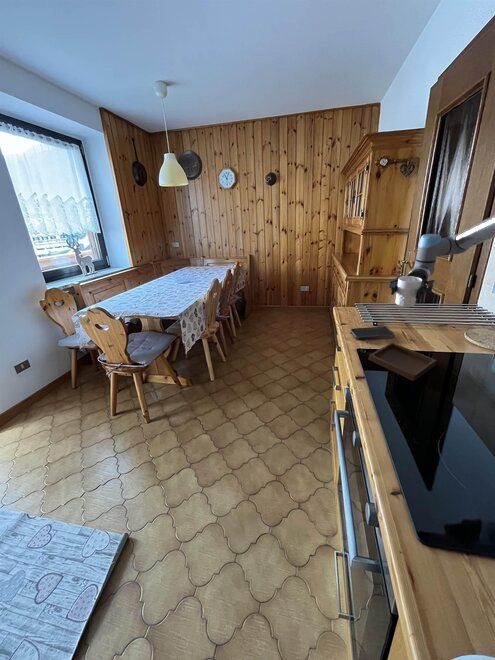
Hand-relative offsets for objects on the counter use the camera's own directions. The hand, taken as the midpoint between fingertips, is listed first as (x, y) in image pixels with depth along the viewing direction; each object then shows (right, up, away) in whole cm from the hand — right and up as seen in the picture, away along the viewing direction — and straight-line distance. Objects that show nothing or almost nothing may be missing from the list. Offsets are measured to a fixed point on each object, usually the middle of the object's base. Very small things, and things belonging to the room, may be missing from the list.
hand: (404, 293), depth 104 cm
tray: (-6, -25, -8) cm, 27 cm away
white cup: (+3, -4, +6) cm, 8 cm away
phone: (-8, -16, +10) cm, 20 cm away
